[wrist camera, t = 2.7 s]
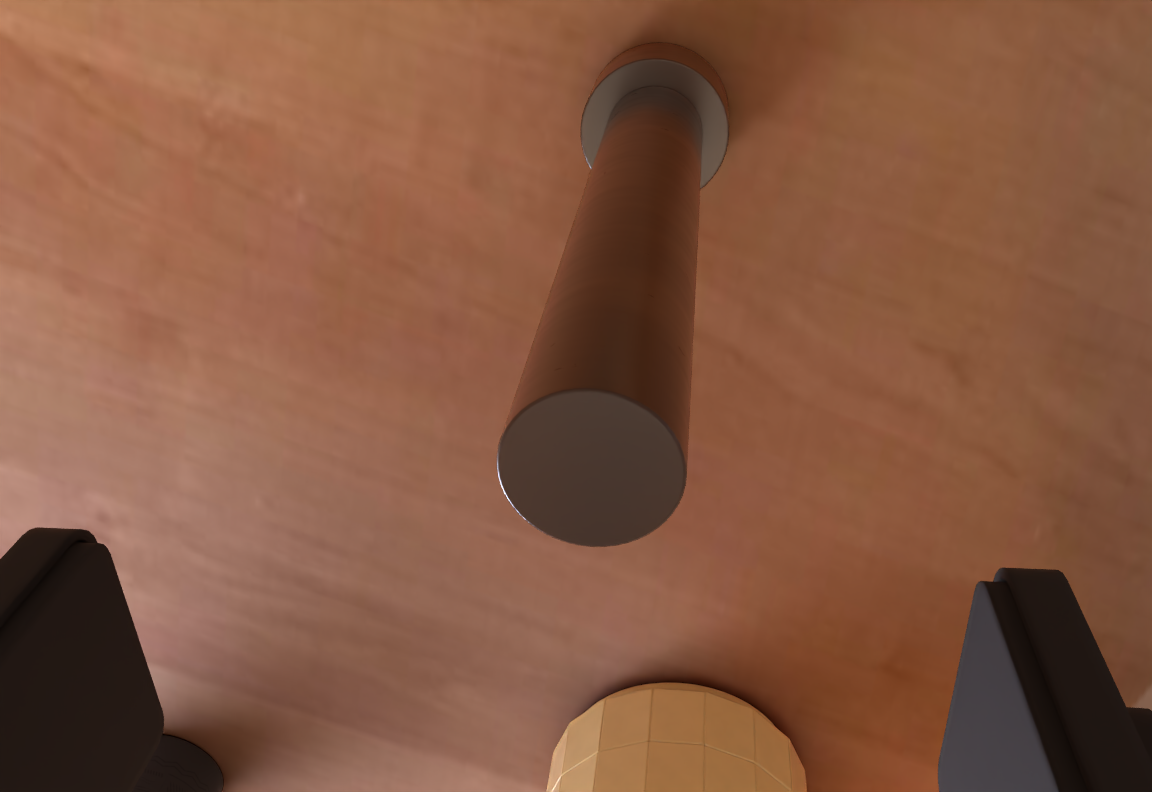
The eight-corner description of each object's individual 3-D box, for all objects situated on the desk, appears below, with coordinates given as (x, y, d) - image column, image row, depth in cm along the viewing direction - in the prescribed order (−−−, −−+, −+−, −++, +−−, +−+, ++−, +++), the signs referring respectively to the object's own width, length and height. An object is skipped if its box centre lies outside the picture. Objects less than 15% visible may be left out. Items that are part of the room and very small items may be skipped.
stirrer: (731, 41, 28) (747, 344, 13) (725, 182, 30) (733, 593, 15) (586, 43, 29) (431, 337, 13) (590, 182, 31) (458, 579, 15)
